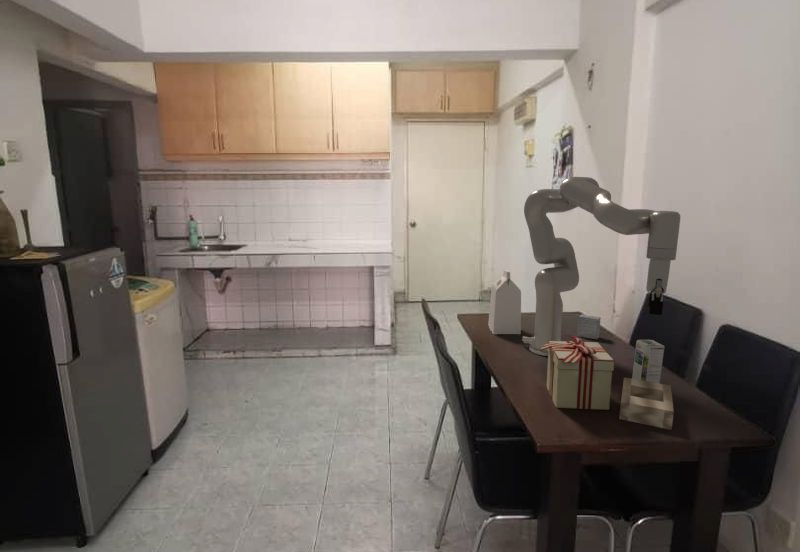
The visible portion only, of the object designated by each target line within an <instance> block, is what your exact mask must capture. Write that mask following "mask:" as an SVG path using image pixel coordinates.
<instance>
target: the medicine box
mask: <svg viewBox="0 0 800 552" xmlns="http://www.w3.org/2000/svg"><path fill="white" fill-rule="evenodd" d="M600 328H601V316H595V315H589V314H580V315H579V316H578V321H577V333H576V335H577V336H576V337H577V338H585V339H590V340H591V339H593V340H598V339H599V337H600V331H601V330H600Z"/></svg>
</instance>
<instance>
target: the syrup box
mask: <svg viewBox="0 0 800 552" xmlns="http://www.w3.org/2000/svg"><path fill="white" fill-rule="evenodd" d="M634 351H635V352H634V359H633V366H632V367H633V368H632V377H631V379H636V380H642V381H648V382H654V383H659V384H661V376H662V375H661V374H662V368H663V361H664V353H665V345H663V344H661V343H659V342H657V341H655V339H654V340H653V339H637V340H636V344H635V350H634Z"/></svg>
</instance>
